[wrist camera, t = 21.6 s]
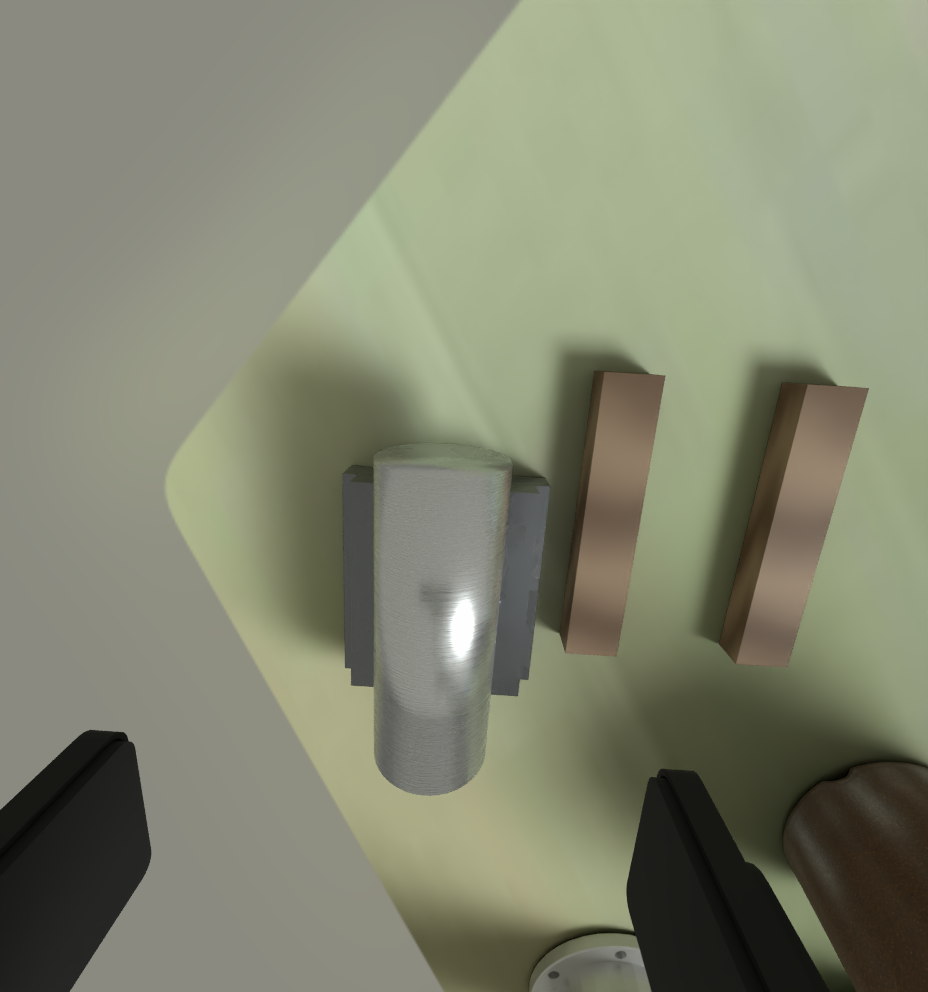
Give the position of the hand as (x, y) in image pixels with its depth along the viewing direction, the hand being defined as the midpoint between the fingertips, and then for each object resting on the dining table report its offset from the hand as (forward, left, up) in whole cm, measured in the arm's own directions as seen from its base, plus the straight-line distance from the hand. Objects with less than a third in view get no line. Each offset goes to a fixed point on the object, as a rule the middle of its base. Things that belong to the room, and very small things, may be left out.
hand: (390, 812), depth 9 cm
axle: (-4, 0, -17) cm, 17 cm away
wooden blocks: (0, -14, -20) cm, 24 cm away
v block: (-4, 0, -20) cm, 20 cm away
